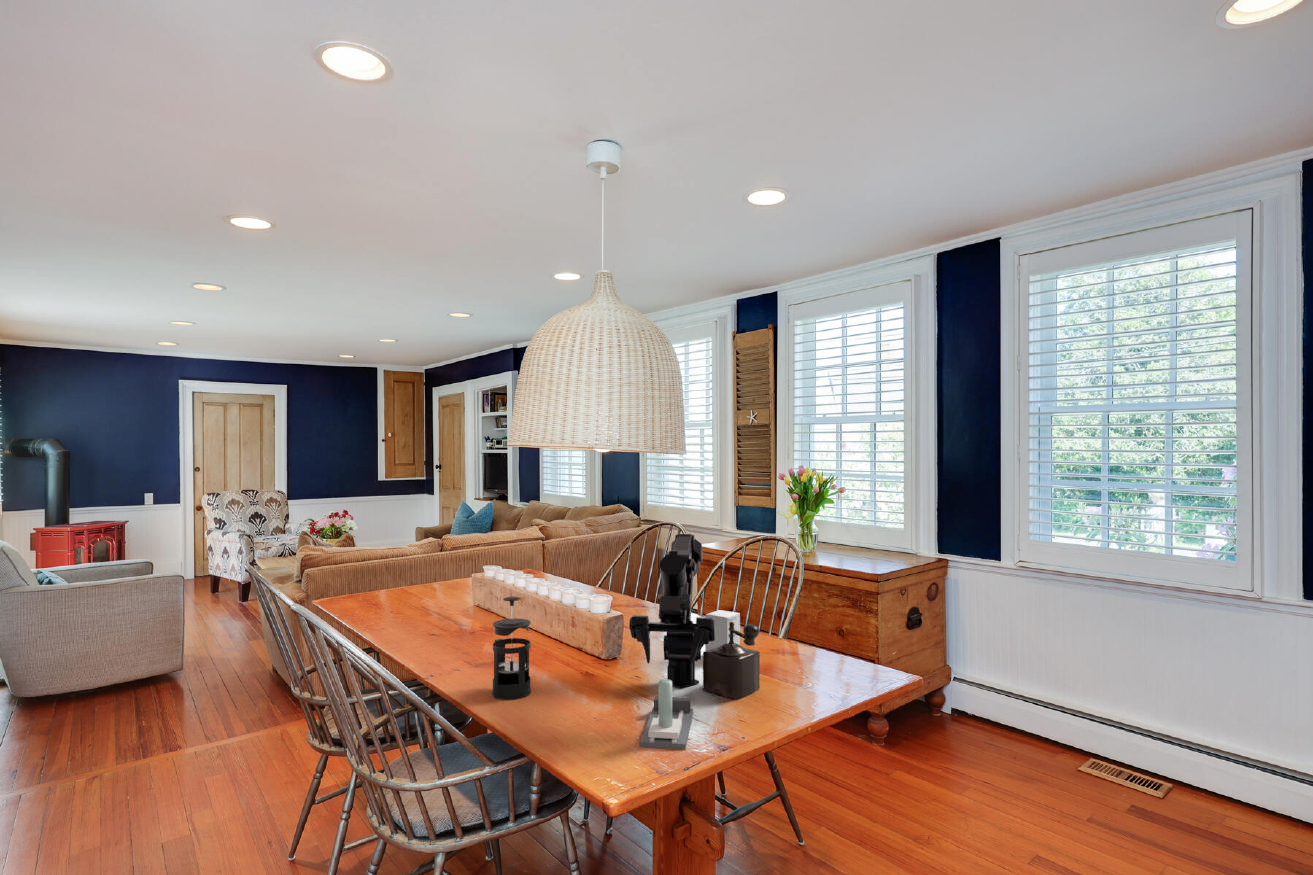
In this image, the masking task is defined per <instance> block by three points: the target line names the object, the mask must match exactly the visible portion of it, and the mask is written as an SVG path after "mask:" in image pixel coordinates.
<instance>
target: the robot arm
mask: <svg viewBox="0 0 1313 875" xmlns="http://www.w3.org/2000/svg"><path fill="white" fill-rule="evenodd" d="M695 538H696V537H695V534H692V533H678V534H675V537H674V540H673V541H672V542H671V546H670V550H668V551H666V552H665V553H664V556H663V557H662V558H661V560H660V561H659V565H658V570H659V573H660V576H661V583H662V586H663V590H662V595H661V596H659V603H658V604H659V606H658V611H659V612H658V619H659V620H660V622H659V621H650V620H649V616H648V615H632V616H631V617H630V618H629V622H628V623H629V624H628V626H629V631H630V637H631V638H632V639H634V640H636V641H637V642H639V643H641V645H642V647H643V649H644V653H645V659H646V663H647V664H648V665H650V662H651V638H650V637H651V636H650V634H651V632H656V633H657V632H659V633H660V632H661V633H666V634H665V635H664V636H663V643H662V644H663V660H664V661H668V662H667V664H668V665H667V668H666V671H667V672H666V673H667V677H666V678H667V679H669V680H672V687H676V688H679V689H684V688H687V687H690V686H694V685H697V684H699V683H700V680H698V679H695V678H696V674H695V673H696V667H695V666H696V665H695V663H696V662H698V661H699V660H700V661H701V659H702V648H703V647H704V646H705V644H708V643H709V641H714V640H715V623H714V620H713V619H712V618H706V617H696V620H695V623H694V622H693V620H691V619H692V607H693V606H692V605H693V603H692V602H693V589H694V588H693V587H694V577H695V576H696V575H697V574H698V573H699V572H700V568H701V563H703V556H704V555H703V554H704V552H703V543H701V542H700V541H699V540H697V539H695Z"/></svg>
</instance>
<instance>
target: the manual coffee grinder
mask: <svg viewBox="0 0 1313 875" xmlns="http://www.w3.org/2000/svg"><path fill="white" fill-rule="evenodd" d="M729 626H730V627H729V631H730V641H729V643H726V644H723V645H721V646H719V647H716V648H713V649H710V650H707V651H703V653H702V685H703V686H702V692H703V691H704V692H708V693H710V694H713V695H715V696H719V697H724V698H730V699H735V700H739V699H742V698H745V697H748V696H750V695H751V694H750V693H752V694H754V693H756V692H758V691H759V690H760V687H761V686H760V672H761V671H760V669H761V668H760V667H761V666H760V662H761V661H760V660H761V659H760V658H761V656H760V655H761V652H760V651H758V650H754V649H750V648H746V647H743V645H741V644H740V645H738V644H736V643H734V641H733V634H736V635H738V636H740V638H742V639H743V643H744V644H745V645H747V646H748V647H749V646H750V647H751V646H755V645H756V641H755V639H756V638H757V637H758V636H759V635H760V628H759V627H758V626H757V625H755V624H753V623H748V624H746V625H744V626H743V629H742V631H743V632H741V631H740V632H738V631H736V630H735V629H734V622H730V623H729ZM758 689H759V690H758ZM755 691H756V692H755ZM753 692H754V693H753ZM749 694H750V695H749ZM747 695H748V696H747Z"/></svg>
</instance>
